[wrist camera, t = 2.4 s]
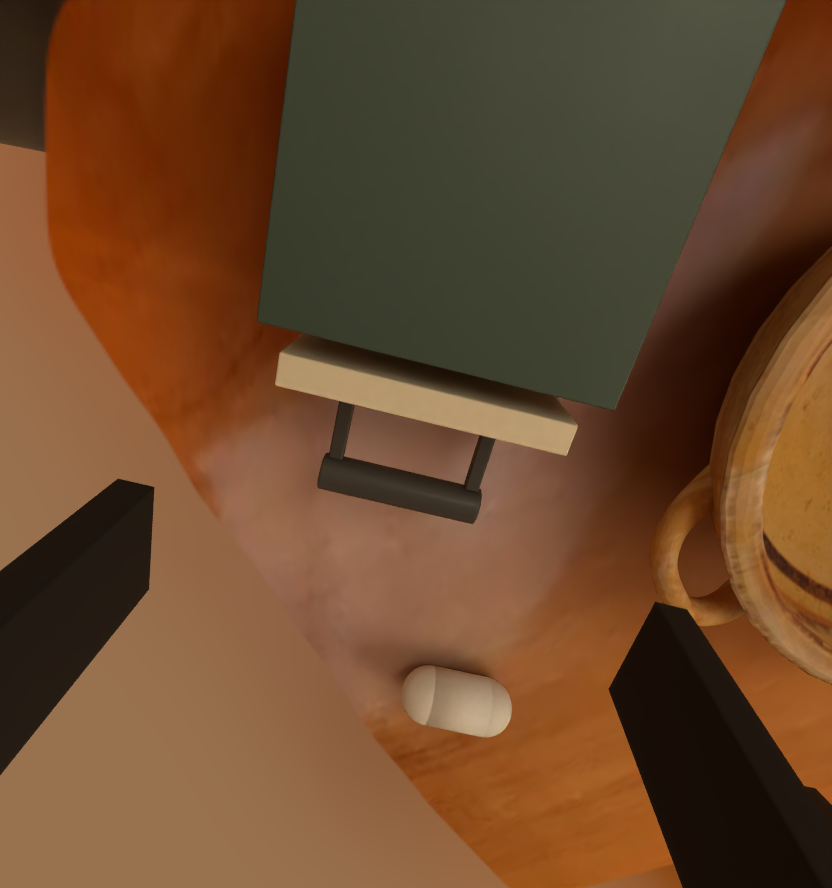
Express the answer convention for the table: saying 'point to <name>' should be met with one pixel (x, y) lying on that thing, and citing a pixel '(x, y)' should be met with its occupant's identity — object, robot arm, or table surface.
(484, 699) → the capsule
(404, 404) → the drawer
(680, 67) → the cabinet
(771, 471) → the ceramic bowl
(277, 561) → the table surface
